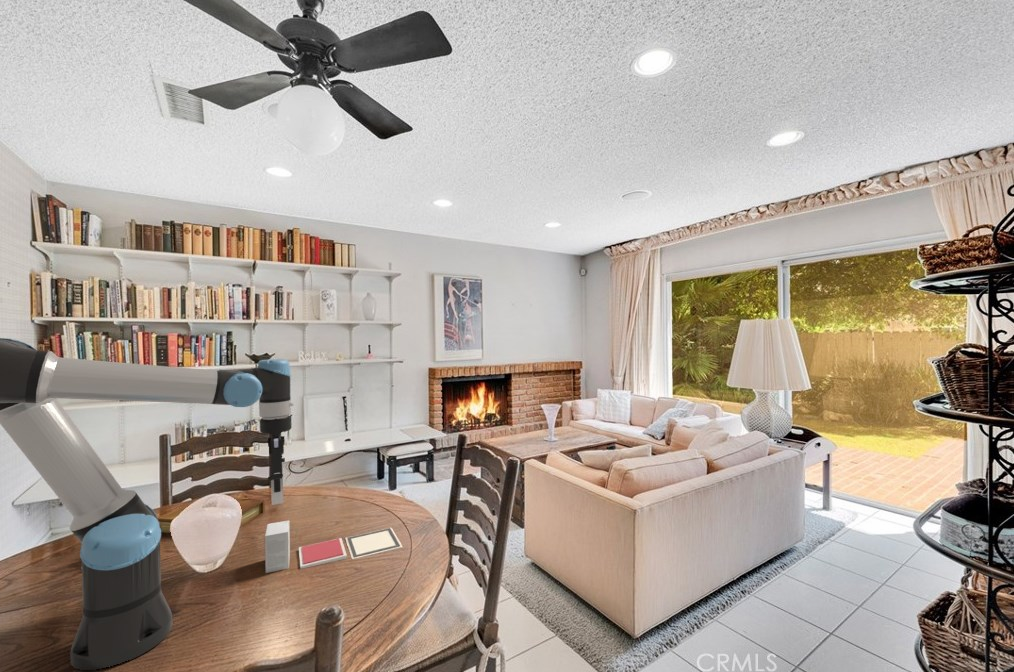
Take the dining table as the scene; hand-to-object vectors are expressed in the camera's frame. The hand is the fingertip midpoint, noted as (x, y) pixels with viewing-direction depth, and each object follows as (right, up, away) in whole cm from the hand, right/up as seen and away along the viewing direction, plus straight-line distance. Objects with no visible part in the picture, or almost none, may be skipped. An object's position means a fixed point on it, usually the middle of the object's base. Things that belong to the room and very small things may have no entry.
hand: (277, 494), depth 116 cm
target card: (+22, -19, +12) cm, 31 cm away
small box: (0, -20, 0) cm, 20 cm away
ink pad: (+10, -19, +5) cm, 22 cm away
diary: (-35, -20, +26) cm, 48 cm away
